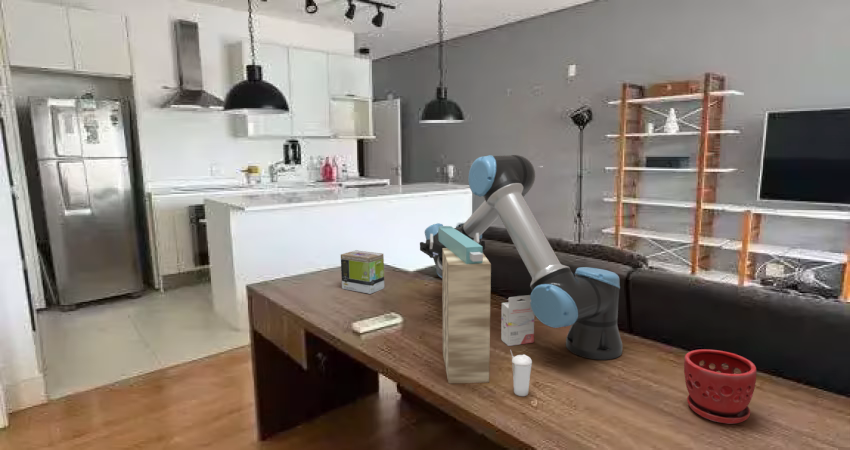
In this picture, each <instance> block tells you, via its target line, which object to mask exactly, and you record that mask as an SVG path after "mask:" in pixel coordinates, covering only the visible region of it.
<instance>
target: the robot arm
mask: <svg viewBox="0 0 850 450" xmlns="http://www.w3.org/2000/svg"><path fill="white" fill-rule="evenodd" d="M467 178H468V180H467V181H468V185H469V189H470V191H471V193H472V194H473V195H474V196H477V197H483V199H484V201H483V202H482V203H481V204H480V205H479V206H478V207H477V208H476V209H475V210H474V212H473V213H472V214H471V215H470V217H468V218H467V220H466V221H464V223H463V224H462V225H461V226H459V227H455V228H454V227H453V228H454V229H456V230H458V231H459V232H461V233H462V234H464V235H465V236H467V237H468V238H470V239H472V240H473V241H475V242H476V243H478V244H479V245H481V246H482V247H483V251H485V250H486V242H485V240H482V238H483V234H484V232H486V231H487V229H488V228H489V227H491V226H492V224H494V222H496V221H497V220H498V219H499V217H500V220H501V222H502V225H504V227H505V229H506V231H507V234H508V235H509V237H510V239H511V241H512V243H513V245H514V246H515V249H516V250H517V252H518V254H519V256H520V258H521V259H522V262H523V263H524V266H525V267H526V269H527V271H528V273H529V275H530V277H531V282H530V285H529V287H530V289H531V293H530V294H529V295H530V299H531V302H530V304H531V308H532V311H533V313H534V317H536V318H537V320H538V321H539V322H541V323H542V324H543V325H545V326H548V327H549V328H554V329H555V328H556V329H558V328H563V327H564V328H566V327H570V328H569V330H568V332H567V335H566V339H565V347H566V349H567V350H568V351H570V353H573V354H574V355H577V356H580V357H583V358H587V359H592V360H600V361H602V360H603V361H604V360H605V361H606V360H613V359H617V358H619V357H620V356H621V355H622V353H623V342H622V338H621V334H620V331H619V327H618V317H619V316H618V315H619V312H618V311H619V300H620V289H621V286H620V276H619V275H618V274H617V273H616V272H613V271H610V270H607V269H602V268H596V267H587V266H585V267H583V266H582V267H581V266H580V267H577V268H576V269H575V272H574V273H573V271H572V270H571V268H570V266H567V265H564V264H562V263H561V262H560V260H559V259H558V256H557V255H556V253H555V251H554V250H553V247H552V246H551V244H550V242H549V240H548V239H547V237H546V235H545V234H544V232H543V230H542V228H541V227H540V225H539V222H538V220H536V219H537V218H536V217H535V216H534V213H533V212H532V210H531V208H530V207H529V205H528V203H527V201H526V200H525V198H524V197H525V196H526V195H527V194H528V193H529V192H530V191H531V190H532V188H533V186H534V184H535V181H536V170H535V167H534V165H533V164H532V162H531V161H530V160H529V159H528V158H526V156H522V155H519V154H511V155H491V154H489V155H486V156H485V155H484V156H479V157H477V158H476V159H474V161H473V162H472V164H471V165H470V168H469V171H468V177H467ZM440 226H444V224H443V223H438V222H437V223H434V224H432V225H429V226H428V227H426V228H425V229H424V237H425V239H426V240H425V242H423V241H421V242H419V250H420V251H421V252H422V253H424V254H426V256H429V258H430V259H432V260H433V262H434V264H435V271H436V274H437V275H438V277H439V278H441V279H442V248H447V247H445V246H444V245H443V244H442V243H441V242H439V234H438V227H440Z"/></svg>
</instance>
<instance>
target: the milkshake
mask: <svg viewBox="0 0 850 450" xmlns="http://www.w3.org/2000/svg"><path fill="white" fill-rule="evenodd" d="M509 352H510V354H511V363H512V364H511V365H512V377H513V379H512V380H513V381H512V382H513V393H514V394H515V395H516V396H518V397H525V396H528V394H529V389H530V388H529V387H530V381H531V380H530V378H531V371H532V364H533V360H532V359H531V357H530V356H528V355H526V354H517V355H515V356H514V353H513V352H512V349H510V350H509Z"/></svg>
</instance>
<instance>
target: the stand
mask: <svg viewBox="0 0 850 450" xmlns="http://www.w3.org/2000/svg"><path fill="white" fill-rule="evenodd" d="M491 273H492V264H491V262H490V261H489V259H488V258H487V257H486V255H485V254H484V253H483V261H482V263H476V264H466V263H464V262H463V261H462V260H461V259H460V258H458V257H457V256H456V255H455V254H454V253H452V252H451V251H450V250H449V249H448V248H442V278H441V279H442V283H441V285H442V287H441V288H442V295H441V297H442V299H441V300H442V357H443V361H444V366H445V372H446V377H447V382H448V384H473V383H474V384H475V383H476V384H477V383H478V384H479V383H481V384H482V383H490V351H491V350H490V348H491V347H490V345H491V343H490V342H491V341H490V339H491V337H490V336H491V291H492V288H491V287H492V286H491V283H492V282H491V279H492V278H491V277H492V274H491Z"/></svg>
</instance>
